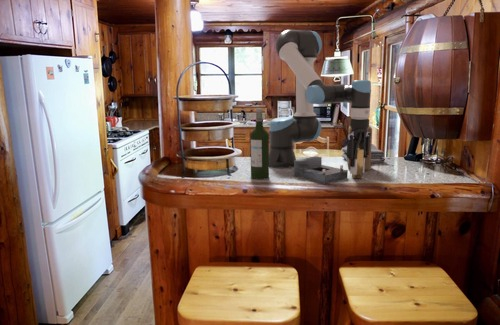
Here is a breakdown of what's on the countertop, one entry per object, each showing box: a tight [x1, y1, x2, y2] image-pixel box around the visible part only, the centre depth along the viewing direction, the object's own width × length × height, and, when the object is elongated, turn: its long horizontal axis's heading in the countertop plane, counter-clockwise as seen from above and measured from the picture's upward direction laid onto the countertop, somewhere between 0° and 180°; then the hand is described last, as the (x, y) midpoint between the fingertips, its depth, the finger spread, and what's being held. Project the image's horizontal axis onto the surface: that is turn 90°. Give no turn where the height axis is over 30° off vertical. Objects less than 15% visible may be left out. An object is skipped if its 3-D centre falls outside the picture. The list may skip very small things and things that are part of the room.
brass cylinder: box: [351, 148, 364, 179], centre depth 168 cm, size 4×4×12 cm
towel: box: [341, 143, 386, 164], centre depth 204 cm, size 15×18×8 cm
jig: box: [293, 155, 349, 184], centre depth 172 cm, size 18×14×7 cm
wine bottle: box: [249, 107, 270, 180], centre depth 171 cm, size 8×8×30 cm
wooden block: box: [347, 125, 373, 172], centre depth 186 cm, size 10×10×20 cm
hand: (357, 173), depth 169 cm, fingers closed on brass cylinder, 4 cm apart
